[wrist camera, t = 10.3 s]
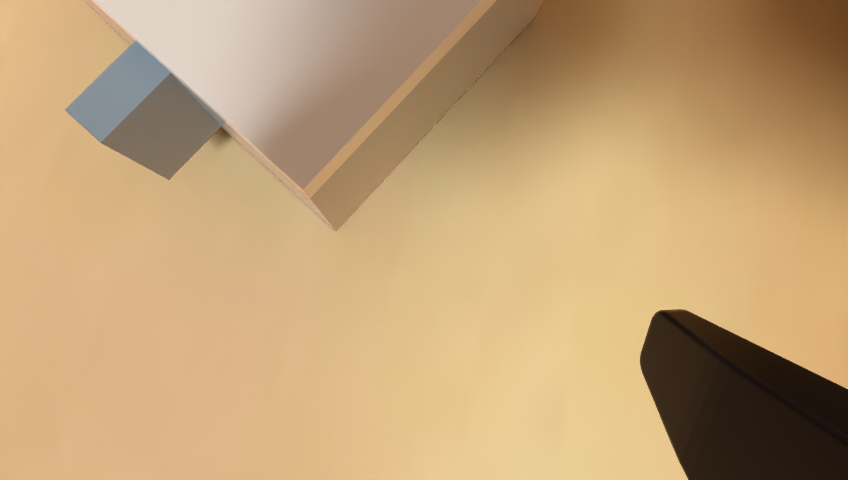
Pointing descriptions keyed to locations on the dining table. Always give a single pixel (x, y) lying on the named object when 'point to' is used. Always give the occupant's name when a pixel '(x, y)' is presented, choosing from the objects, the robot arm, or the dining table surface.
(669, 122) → the dining table surface
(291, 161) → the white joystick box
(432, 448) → the dining table surface
